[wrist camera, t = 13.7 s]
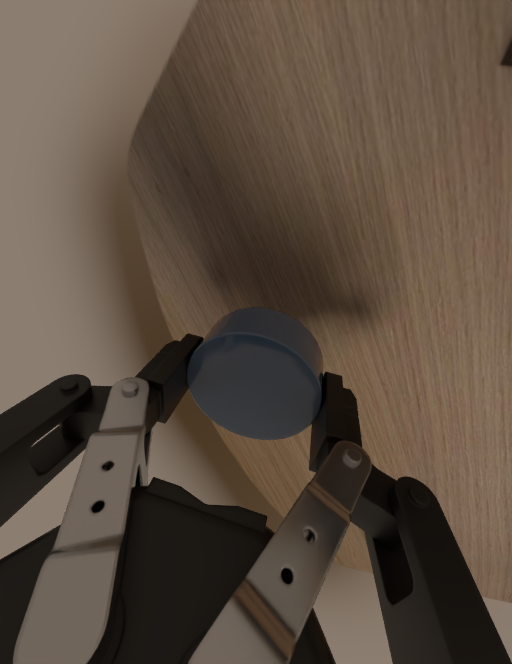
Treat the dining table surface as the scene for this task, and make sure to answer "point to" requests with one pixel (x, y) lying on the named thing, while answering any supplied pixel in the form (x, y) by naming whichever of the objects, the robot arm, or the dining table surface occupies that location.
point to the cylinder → (258, 374)
